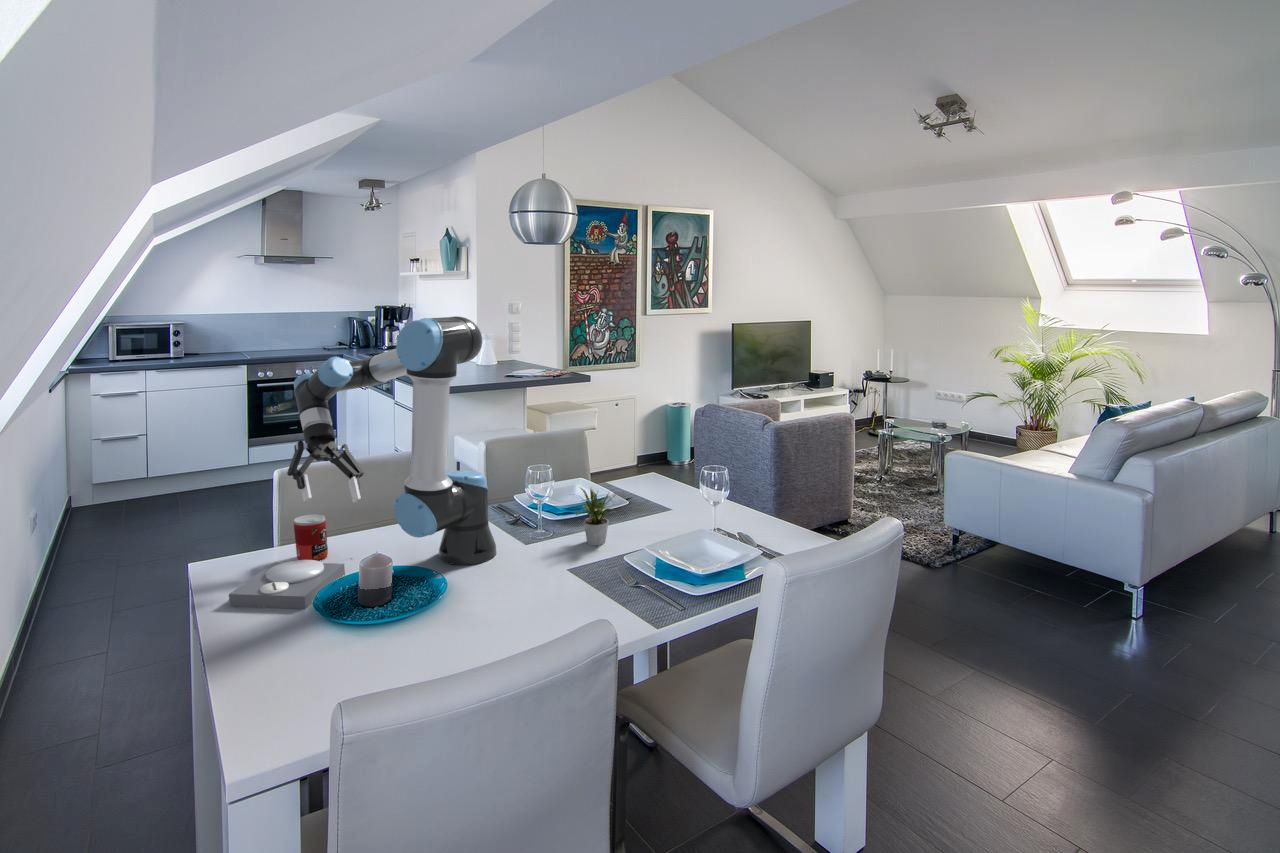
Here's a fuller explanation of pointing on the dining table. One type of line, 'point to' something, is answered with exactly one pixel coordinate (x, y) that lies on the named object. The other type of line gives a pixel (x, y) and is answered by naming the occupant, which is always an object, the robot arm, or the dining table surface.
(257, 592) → the kitchen scale
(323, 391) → the robot arm
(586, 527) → the house plant
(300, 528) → the canned food
